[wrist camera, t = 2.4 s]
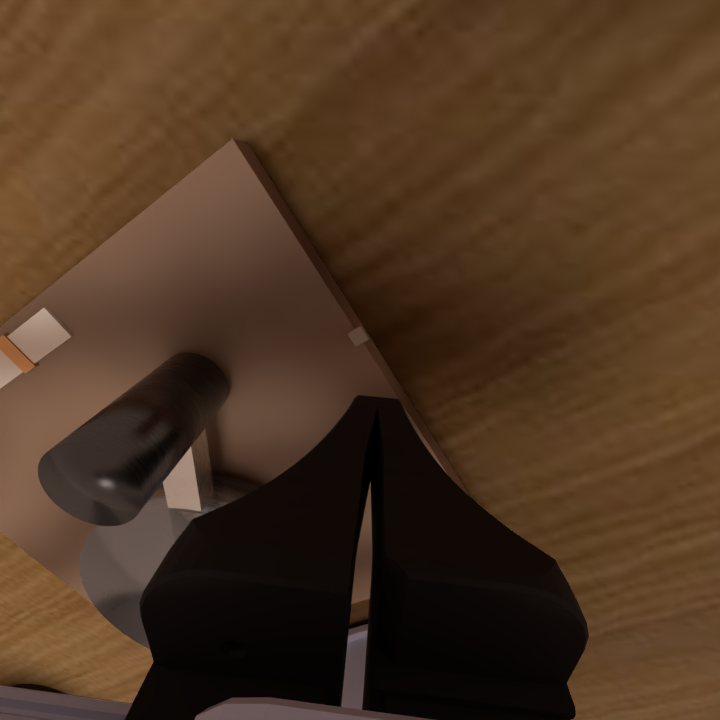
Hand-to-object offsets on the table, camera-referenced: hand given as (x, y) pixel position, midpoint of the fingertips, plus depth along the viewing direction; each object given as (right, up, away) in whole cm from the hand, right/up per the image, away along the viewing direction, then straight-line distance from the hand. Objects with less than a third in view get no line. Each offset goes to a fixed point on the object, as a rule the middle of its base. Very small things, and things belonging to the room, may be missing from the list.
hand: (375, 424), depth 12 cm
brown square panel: (-8, -3, +5) cm, 10 cm away
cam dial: (-7, -5, +4) cm, 9 cm away
